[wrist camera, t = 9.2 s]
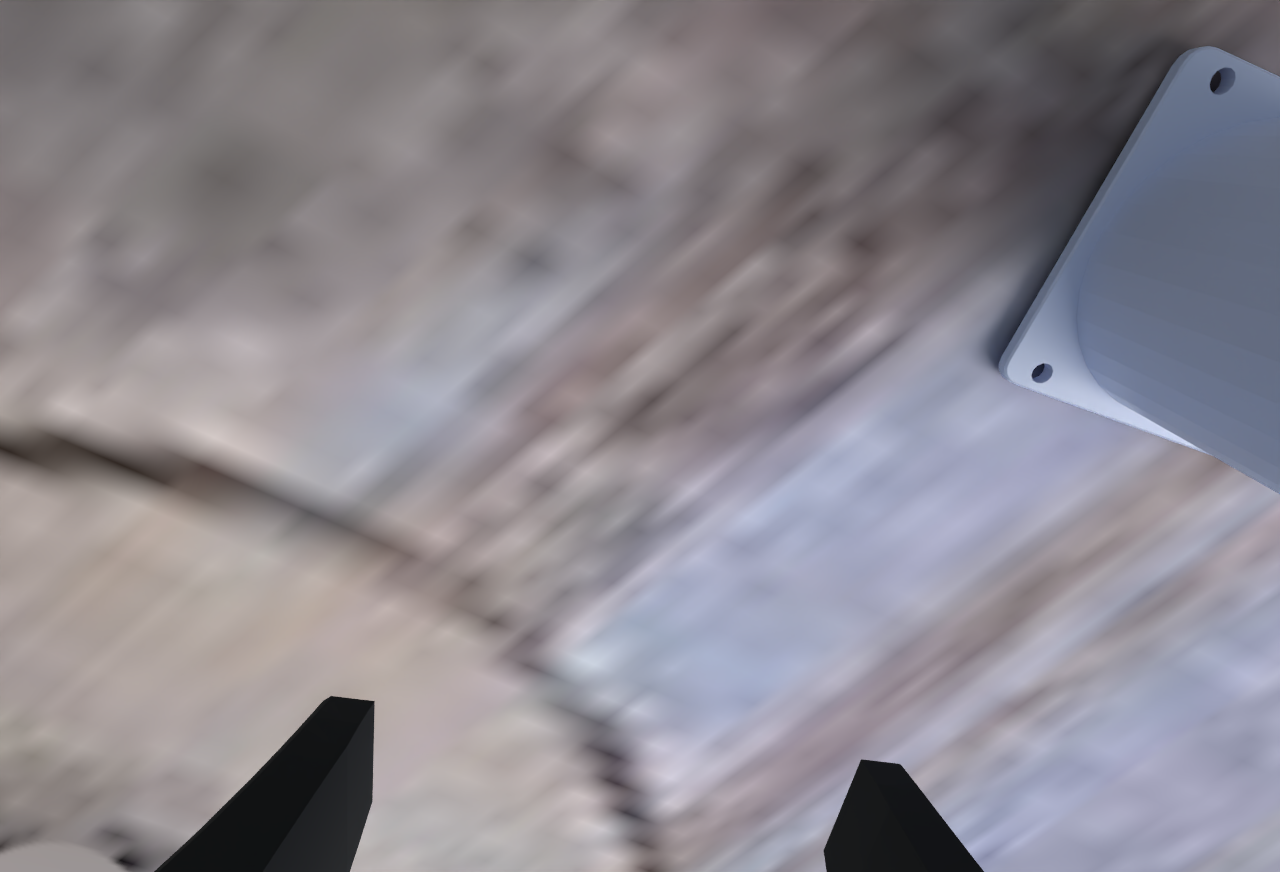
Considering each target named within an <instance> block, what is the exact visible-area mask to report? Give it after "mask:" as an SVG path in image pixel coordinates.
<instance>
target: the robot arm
mask: <svg viewBox="0 0 1280 872" xmlns="http://www.w3.org/2000/svg"><path fill="white" fill-rule="evenodd" d="M1217 71H1219V72H1220V73H1221V82H1220V85H1219V87H1218V88H1217V89H1216V90H1215V91H1214V93H1213V92H1212V91H1211V90H1210V81H1211V79H1212V76H1213V75H1214V74H1215V73H1216V72H1217ZM1042 363H1044V366H1045V367H1044V370H1043V372H1042V373H1041V374H1040V375H1039V376H1037V377H1035V378H1032V372H1033V370H1034V369H1035V368H1036V367H1037V366H1038V365H1040V364H1042ZM999 372H1000V374H1001V375H1002V377H1004V378H1005V379H1007V380H1008V381H1010V382H1011V383H1013V384H1015V385H1017V386H1020V387H1023V388H1026V389H1029V390H1031V391H1034V392H1037V393H1040V394H1042V395H1045V396H1048V397H1051V398H1053V399H1056V400H1059V401H1062V402H1065V403H1067V404H1070V405H1073V406H1076V407H1078V408H1081V409H1084V410H1087V411H1090V412H1092V413H1095V414H1098V415H1101V416H1103V417H1106V418H1109V419H1112V420H1115V421H1117V422H1120V423H1123V424H1126V425H1128V426H1131V427H1134V428H1137V429H1140V430H1142V431H1145V432H1148V433H1151V434H1153V435H1156V436H1159V437H1162V438H1164V439H1167V440H1170V441H1173V442H1176V443H1178V444H1181V445H1184V446H1187V447H1189V448H1192V449H1195V450H1198V451H1201V452H1203V453H1206V454H1209V455H1212V456H1214V457H1215V458H1217V459H1219V460H1221V461H1222V462H1224V463H1226V464H1228V465H1229V466H1231V467H1233V468H1235V469H1236V470H1238V471H1240V472H1242V473H1243V474H1245V475H1247V476H1249V477H1251V478H1252V479H1254V480H1256V481H1258V482H1259V483H1261V484H1263V485H1265V486H1266V487H1268V488H1270V489H1272V490H1273V491H1275V492H1277V493H1279V494H1280V76H1277V75H1275V74H1273V73H1271V72H1269V71H1267V70H1264V69H1262V68H1260V67H1258V66H1256V65H1254V64H1251V63H1249V62H1247V61H1245V60H1243V59H1241V58H1238V57H1236V56H1234V55H1232V54H1230V53H1228V52H1225V51H1223V50H1221V49H1219V48H1217V47H1211V46H1204V47H1197V48H1194V49H1190V50H1188V51H1186V52H1185V53H1183V54H1182V55H1180V56H1179V57H1178V58H1177V60H1176V61H1175V62H1174V63H1173V65H1172V66H1171V68H1170V70H1169V71H1168V73H1167V75H1166V77H1165V78H1164V80H1163V82H1162V83H1161V85H1160V87H1159V89H1158V90H1157V92H1156V94H1155V95H1154V97H1153V99H1152V100H1151V102H1150V104H1149V106H1148V107H1147V109H1146V111H1145V112H1144V114H1143V116H1142V118H1141V119H1140V121H1139V123H1138V124H1137V126H1136V128H1135V129H1134V131H1133V133H1132V135H1131V136H1130V138H1129V140H1128V141H1127V143H1126V145H1125V147H1124V148H1123V150H1122V152H1121V153H1120V155H1119V157H1118V158H1117V160H1116V162H1115V164H1114V165H1113V167H1112V169H1111V170H1110V172H1109V174H1108V176H1107V177H1106V179H1105V181H1104V182H1103V184H1102V186H1101V187H1100V189H1099V191H1098V193H1097V194H1096V196H1095V198H1094V199H1093V201H1092V203H1091V205H1090V206H1089V208H1088V210H1087V211H1086V213H1085V215H1084V216H1083V218H1082V220H1081V222H1080V223H1079V225H1078V227H1077V228H1076V230H1075V232H1074V234H1073V235H1072V237H1071V239H1070V240H1069V242H1068V244H1067V245H1066V247H1065V249H1064V251H1063V252H1062V254H1061V256H1060V257H1059V259H1058V261H1057V263H1056V264H1055V266H1054V268H1053V269H1052V271H1051V273H1050V274H1049V276H1048V278H1047V280H1046V281H1045V283H1044V285H1043V286H1042V288H1041V290H1040V292H1039V293H1038V295H1037V297H1036V298H1035V300H1034V302H1033V303H1032V305H1031V307H1030V309H1029V310H1028V312H1027V314H1026V315H1025V317H1024V319H1023V321H1022V322H1021V324H1020V326H1019V327H1018V329H1017V331H1016V332H1015V334H1014V336H1013V338H1012V339H1011V341H1010V343H1009V344H1008V346H1007V348H1006V350H1005V351H1004V353H1003V355H1002V356H1001V359H1000V362H999ZM373 744H374V701H368V700H359V699H351V698H342V697H334V696H330V697H329V698H327V699H326V700H324V701H323V702H322V703H321V704H320V705H319V706H318V707H317V708H316V710H315V711H314V712H313V713H312V714H311V715H310V716H309V717H308V719H307V720H306V721H305V722H304V723H303V724H302V725H301V726H300V727H299V729H298V730H297V731H296V732H295V733H294V734H293V735H292V736H291V737H290V738H289V739H288V740H287V742H286V743H285V744H284V745H283V746H282V747H281V748H280V749H279V750H278V751H277V752H276V753H275V754H274V755H273V756H272V757H271V759H270V760H269V761H268V762H267V763H266V764H265V765H264V766H263V767H262V768H261V769H260V770H259V771H258V772H257V773H256V774H255V775H254V776H253V777H252V778H251V779H250V780H249V781H248V782H247V783H246V784H245V785H244V786H243V787H242V788H241V789H240V790H239V791H238V792H237V793H236V794H235V795H234V796H233V797H232V798H231V799H230V800H229V801H228V802H227V803H226V804H225V805H224V806H223V807H222V808H221V809H220V810H219V811H218V812H217V813H216V814H215V815H214V816H213V817H212V818H211V819H210V820H209V821H208V822H207V823H206V824H205V825H204V826H203V827H202V828H201V829H200V830H199V831H198V832H197V833H196V834H195V835H193V836H192V837H191V838H190V839H189V840H188V841H187V842H186V843H185V844H184V845H183V846H182V847H181V848H180V849H178V850H177V851H176V852H175V853H174V854H173V855H172V856H171V857H170V858H169V859H168V860H166V861H165V862H164V863H163V864H162V865H161V866H160V867H159V868H158V869H157V870H155V871H154V872H350V869H351V866H352V863H353V860H354V857H355V854H356V851H357V848H358V845H359V842H360V839H361V835H362V832H363V829H364V826H365V823H366V820H367V816H368V813H369V810H370V807H371V804H372V790H373ZM824 856H825V863H826V870H827V872H984V871H983V870H982V869H981V867H980V866H979V865H978V864H977V862H976V861H975V860H974V858H973V857H972V856H971V855H970V853H969V852H968V851H967V849H966V848H965V847H964V846H963V844H962V843H961V842H960V840H959V839H958V838H957V837H956V835H955V834H954V833H953V831H952V830H951V829H950V828H949V826H948V825H947V824H946V822H945V821H944V820H943V818H942V817H941V816H940V815H939V813H938V812H937V811H936V809H935V808H934V807H933V805H932V804H931V803H930V801H929V800H928V799H927V798H926V796H925V795H924V794H923V792H922V791H921V790H920V789H919V787H918V786H917V785H916V783H915V782H914V781H913V780H912V778H911V777H910V776H909V774H908V773H907V772H906V771H905V769H904V768H903V767H902V766H901V764H895V763H887V762H878V761H870V760H861V761H860V764H859V766H858V769H857V771H856V773H855V776H854V778H853V781H852V783H851V786H850V788H849V790H848V793H847V795H846V798H845V800H844V803H843V805H842V807H841V810H840V812H839V815H838V817H837V820H836V822H835V824H834V827H833V829H832V832H831V834H830V836H829V839H828V841H827V844H826V846H825V849H824Z"/></svg>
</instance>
